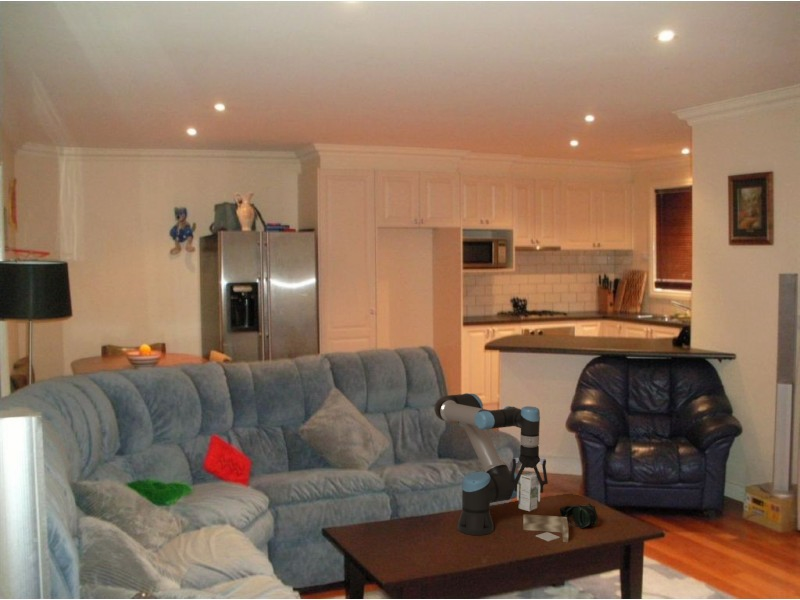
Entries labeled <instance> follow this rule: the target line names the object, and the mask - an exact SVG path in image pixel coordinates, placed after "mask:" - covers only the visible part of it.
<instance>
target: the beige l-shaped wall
mask: <svg viewBox="0 0 800 600" xmlns="http://www.w3.org/2000/svg"><path fill="white" fill-rule="evenodd" d="M522 518H523V523H522V527H523V528H522V530H523V531H535V532H537V531H538V532H549V533H551V532H552V533H561V536H562V542H563V543H569V523H568V522H569V521H567V517H561V516H555V515H539V514H523V517H522Z"/></svg>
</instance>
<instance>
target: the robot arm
mask: <svg viewBox="0 0 800 600" xmlns="http://www.w3.org/2000/svg"><path fill="white" fill-rule="evenodd" d="M434 413H435V416H436V417H437V418H438V419H439V420H441V421H445V422H449V423H450V422H453V421H454V422H457V424H458V425H459V427H460V428H464V430H465V432H466V435H467V437H468V439H469V441H470V444H471V446H472V448H473V450H474V452H475V454H476V456H477V459H478V460H479V462H480V465H481V468H482V469H483V470H484V471H479V472H478V471H473V472H469V473H468V474H466V475H464V476H463V478H462V485H461V490H462V492H461V493H462V495H461V497H462V499H461V500H462V502H461V503H462V504H461V513H460V516H459V518H458V522H457V529H458V531H459V532H460V533H463V534H466V535H471V536H484V535H489V534H491V533H493V532H494V521H493V517H492V515H491V513H490V509H491V506H490V505H491V504H494V503H498V502H505V501H510V500H513V499H516V500H517V501H519V479H520V477H521V474H523V472H524V471H525V468H526V469H529V468H530V469H533V470H534V473H535V474H536V475H537V478H538V480H539V482H538V502H541V494H544V485H548V481H549V480H548V474H547V468H546V467H547V466H546V464H547V459H546V458H544V459H543V458H540V454H539V453H540V446H539V445H540V423H541V422H540V421H541V416H540V409H539V408H538V407H536V406H531V405H530V406H529V405H528V406H523V407H521V408H518V407H516V406H511V405H510V406H509V405H508V406H505V407H504V408H502V409H493V410H492V409H491V410H490V409H487V408H486V409H485V408H484V404H483V402H482V399H481V398H480V397H479V396H478V395H477V394H475V393H467V392H466V393H461V394H451V395H450V394H449V395H448V394H447V395H444V396H442V397H440V398H439V399H437V401H436V403H434ZM510 427H516V428H519V429H520V446H519V449H520V450H519V456H518V457H514V456H513V457H512V466H511V467H512V468H511V470H510V469H509V467H508V465H507V464H505V463H503V462H502V460H501V458H500V456H499V453H498V452H497V450H496V447H495V446H494V443H493V441H492V439H491V437H490V436H489V433H488V431H489V430H493V429H499V428H501V429H502V428H510ZM487 430H488V431H487ZM519 462H520V464H521V466H520V468H519V470H518V473H517V472H516V468H517V464H518V463H519ZM539 463H540V465H541V466H542V472H543V473H542V474H543V479H542V476H541V474H540V472H539V471H540V470H539V469H538V466H537V465H538V464H539Z"/></svg>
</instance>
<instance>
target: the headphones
mask: <svg viewBox="0 0 800 600" xmlns="http://www.w3.org/2000/svg"><path fill="white" fill-rule="evenodd" d="M559 514H560V517H567V522H568V525H571V526H574V527H576V528H577V527H578V528H580V529H583V528H586V527H592V526H596V525H597V524H598V512H597V511H596V506H594V505H592V504H591V503H587V505H585V504H581V505H580V504H573V505H565V506H562V507H560V509H559ZM569 517H572V520H573V522H574V524H575V525H574V524H572V523H571V522H570V521H569Z"/></svg>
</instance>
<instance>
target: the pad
mask: <svg viewBox="0 0 800 600" xmlns="http://www.w3.org/2000/svg"><path fill="white" fill-rule="evenodd" d="M535 537H536V538H538V539H542V540H544V541H546V542H551V541H553V540H557V539H560V538H561V537H560V536H558V535H555V534H553V533H551V532H549V531H545V532H543V533H540V534H539V533H538V534H536V535H535Z"/></svg>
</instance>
